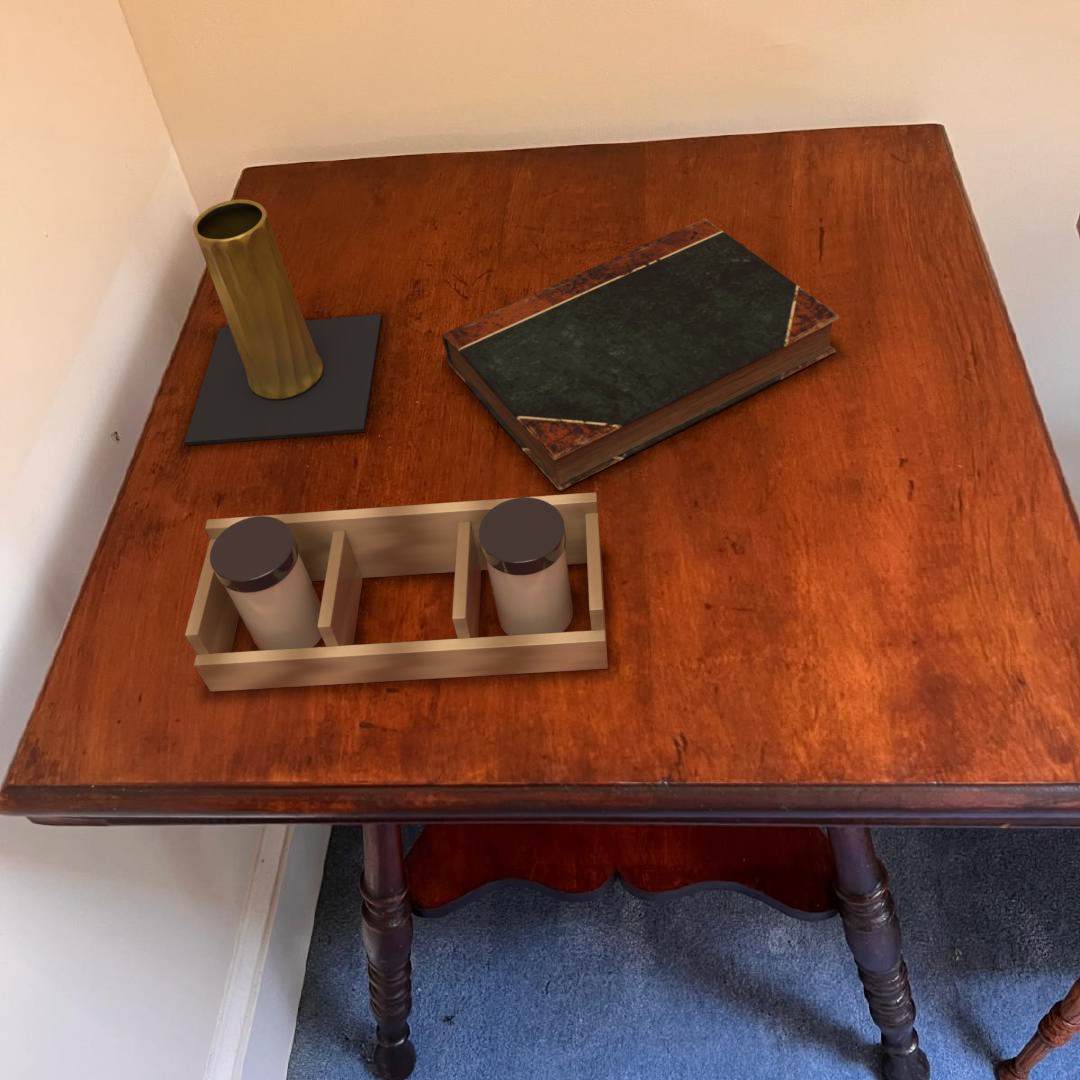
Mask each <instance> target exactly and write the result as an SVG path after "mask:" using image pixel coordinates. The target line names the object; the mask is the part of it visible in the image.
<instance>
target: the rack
mask: <svg viewBox="0 0 1080 1080" xmlns="http://www.w3.org/2000/svg"><path fill="white" fill-rule="evenodd" d="M597 495H598V493H597V492H596V491H595V492H582V493H580V492H579V493H567V494H553V495H539V496H538V495H537V496H527V497H528V498H536V499H540V500H543V501H546V502H548V503H549V504H551V505H553V506H554V507H555V508H556V509H557V510H558V511H559V512H560V514H561V515H562V517H563V520H564V525H565V534H566V545H565V548H566V556H567V564H568V566H569V565H582V564H583V565H584V564H586V565H587V566H586V567H587V587H588V588H587V589H588V591H587V592H588V607H589V608H588V612H589V620H590V629H591V630H579V631H564V632H561V633H545V634H528V635H512V636H508V635H500V636H499V635H497V636H496V635H495V636H481V637H480V618H481V617H480V613H481V592H482V591H481V588H482V571H488V568H487V564H486V559H485V558H484V556H483V553H482V549H481V544H480V540H479V527H480V524H481V522H482V520H483V518H484V517H485V515H486V514H487V513H488V512H489V511H490V510H491V509H492V508H494V507H495V506H497V505H498V504H500V503H502V502H505V501H507V500H511V499H515V498H516V497H510V498H497V499H495V498H494V499H481V500H480V499H479V500H466V501H454V502H453V501H452V502H440V503H439V502H438V503H424V504H411V505H410V504H409V505H397V506H383V507H381V506H379V507H366V508H354V509H338V510H327V511H326V510H325V511H323V510H322V511H312V512H311V511H310V512H295V513H294V512H293V513H283V514H282V513H281V514H268V515H267V514H266V515H265V516H267V517H273V518H276V519H279V520H281V521H282V522H284V523H285V524H287V525H288V526H289V528H290V529H291V531H292V533H293V535H294V538H295V540H296V542H297V545H298V551H299V554H300V556H301V558H302V561H303V563H304V565H305V568H306V570H307V572H308V575H309V577H310V579H311V582H323V581H324V585H323V591H322V596H321V601H320V603H321V608H320V614H319V620H318V626H317V627H318V629H319V631H320V634H321V636H322V638H321V639H322V641H323V643H324V645H325V646H317V647H316V646H314V647H313V648H298V649H281V650H265V651H260V650H251V651H250V650H248V651H233V646H234V641H235V639H236V638H235V637H236V633H237V628H238V624H239V619H240V615H239V613H238V611H237V609H236V607H235V606H234V604H233V602H232V600H231V598H230V596H229V594H228V593H227V591H226V589H225V587H224V585H223V584H222V583H221V582H220V581H219V579H218V578H217V576H216V574H215V572H214V570H213V568H212V566H211V564H210V552H211V548H212V546H213V544H214V542H215V540H216V539H217V537H218V536H219V535H220V534H221V533H222V532H223V531H224V530H225V529H227V528H228V527H230V526H231V525H233V524H235V523H236V522H239V521H241V520H244V519H247V518H251V517H257V516H258V515H251V516H240V517H239V516H238V517H225V518H211V519H210V518H209V519H207V520H206V522H205V527H204V530H205V531H206V534H207V535H208V537H209V542H208V547H207V549H206V554H205V558H204V561H203V565H202V568H201V573H200V575H199V576H200V577H199V580H198V584H197V587H196V592H195V595H194V599H193V603H192V606H191V610H190V613H189V618H188V621H187V625H186V630H185V634H184V636H185V638H186V640H187V641H188V642H189V644H190V646H191V648H192V649H193V651H194V652H195V654H196V655H195V659H194V662H193V667H194V669H195V670H196V671H197V673H198V675H199V676H200V677H201V679H202V681H203V683H204V684H205V686H206V688H207V689H208V690H209V691H210V692H227V691H243V690H244V691H246V690H263V689H279V688H281V689H282V688H296V687H297V688H299V687H313V686H330V685H331V686H332V685H349V684H364V683H365V684H366V683H367V684H368V683H379V682H380V683H383V682H384V683H385V682H398V681H399V682H400V681H416V680H417V681H418V680H435V679H436V680H437V679H451V678H452V679H453V678H470V677H471V678H472V677H485V676H486V677H488V676H503V675H504V676H505V675H519V674H536V673H537V674H538V673H554V672H555V673H556V672H571V671H589V670H590V671H591V670H604V669H605V670H606V669H608V668H609V660H608V645H607V644H608V643H607V628H606V610H605V609H606V607H605V592H604V591H605V589H604V575H603V574H604V573H603V558H602V557H603V555H602V544H601V533H600V532H601V531H600V519H599V507H598V505H599V504H598V496H597ZM521 498H525V496H524V497H521ZM445 573H454V580H453V597H452V611H451V612H452V614H451V620H452V623H453V627H454V630H455V634H456V637H457V638H447V639H431V640H430V639H429V640H415V641H413V640H412V641H401V642H400V641H399V642H398V641H397V642H382V643H381V642H380V643H366V644H355V639H356V630H357V623H358V615H359V609H360V608H359V607H360V601H361V595H362V586H363V579H368V578H370V579H372V578H385V577H399V576H417V575H430V574H445ZM232 651H233V652H232Z"/></svg>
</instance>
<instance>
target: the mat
mask: <svg viewBox="0 0 1080 1080" xmlns="http://www.w3.org/2000/svg"><path fill="white" fill-rule="evenodd" d="M382 320H383V317H382V314H380V313H379V314H368V315H367V314H366V315H354V316H341V317H332V318H320V319H308V320H307V319H305V320H304V321H305V323H306V326H307V328H308V330H309V333H310V335H311V338H312V340H313V343H314V346H315V348H316V351H317V353H318V355H319V356H320V358H321V360H322V362H323V373H322V375H321V377H320V379H319V380H318V382H317V383H316V384H315V385H313V386H312V387H311V388H310V389H309V390H307V391H306V392H304V393H302V394H300V395H297V396H294V397H291V398H287V399H278V400H276V399H267V398H263V397H261V396H259V395H257V394H256V393H254V392H253V391H252V390H251V388H250V387H249V384H248V380H247V374H246V371H245V367H244V365H243V362H242V359H241V357H240V354H239V352H238V349H237V346H236V343H235V340H234V338H233V335H232V333H231V330H230V328H229V326H223V327H219V330H218V333H217V336H216V339H215V343H214V346H213V349H212V352H211V355H210V359H209V362H208V365H207V368H206V372H205V375H204V378H203V381H202V384H201V388H200V391H199V394H198V397H197V401H196V404H195V407H194V410H193V413H192V416H191V419H190V423H189V426H188V429H187V433H186V436H185V439H184V444H185V446H199V445H200V446H201V445H211V444H212V445H213V444H224V443H226V444H227V443H238V442H250V441H252V442H253V441H265V440H277V439H279V440H280V439H289V438H290V439H291V438H304V437H305V438H307V437H318V436H331V435H345V434H358V433H365V432H366V426H367V419H368V412H369V406H370V400H371V394H372V387H373V386H372V385H373V380H374V372H375V368H376V367H375V366H376V361H377V360H376V359H377V353H378V347H379V340H380V333H381V327H382Z"/></svg>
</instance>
